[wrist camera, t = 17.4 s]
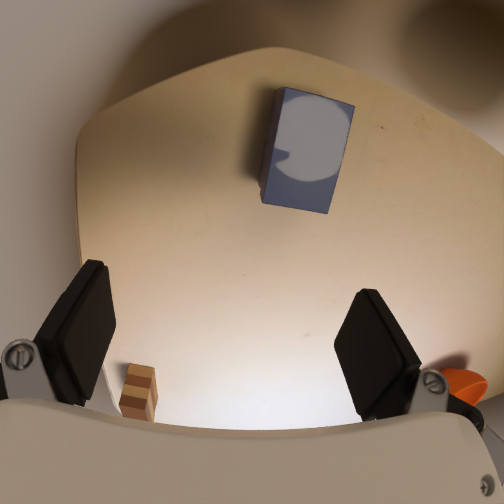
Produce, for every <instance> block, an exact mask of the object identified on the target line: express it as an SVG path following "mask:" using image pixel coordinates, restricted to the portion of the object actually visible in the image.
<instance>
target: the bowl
mask: <svg viewBox="0 0 504 504" xmlns="http://www.w3.org/2000/svg"><path fill="white" fill-rule="evenodd" d="M440 372H441V373H442V374H443V375H444V376H445V377H446V379H447V380H448V383H449V388H450V390H449V393H450V394H452V395H454V396H456V397H457V398H459V399H461V400H463V401H465V402H466V403H468V404H470V405H472V406H475V404H476V403H477V402H478V401H479V400H480V399H481V398H482V397H483V395H484V394H485V392H486V390H487V388H488V383H487V381H486V380H485V379H484V378H483V377H482V376H481V375H479V374H477V373H475V372H472V371H469V370H463V369H452V368H447V369H443V370H441V371H440Z"/></svg>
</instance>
